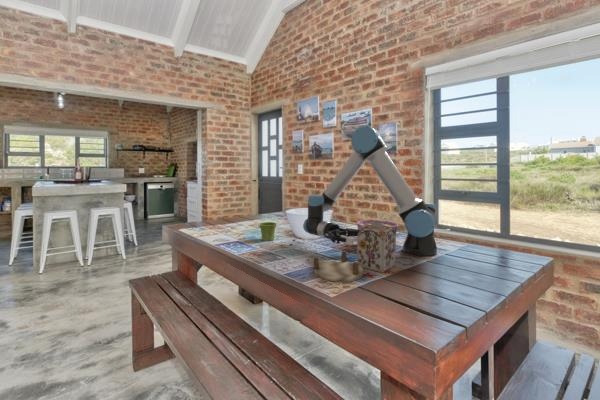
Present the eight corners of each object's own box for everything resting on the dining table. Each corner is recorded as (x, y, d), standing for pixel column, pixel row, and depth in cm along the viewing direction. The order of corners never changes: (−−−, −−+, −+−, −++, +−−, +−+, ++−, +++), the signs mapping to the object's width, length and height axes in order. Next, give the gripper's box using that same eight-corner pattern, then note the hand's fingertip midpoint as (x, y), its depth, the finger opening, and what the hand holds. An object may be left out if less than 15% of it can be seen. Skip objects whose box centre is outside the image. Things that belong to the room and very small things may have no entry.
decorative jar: (369, 260, 137) (370, 218, 135) (395, 265, 130) (397, 222, 128) (355, 266, 128) (356, 222, 126) (382, 273, 120) (384, 226, 118)
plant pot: (268, 242, 165) (268, 226, 164) (255, 240, 170) (255, 223, 169) (280, 239, 172) (280, 223, 171) (267, 236, 178) (267, 221, 177)
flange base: (354, 264, 130) (354, 250, 130) (369, 280, 113) (370, 264, 112) (309, 266, 128) (309, 251, 127) (318, 282, 110) (318, 265, 109)
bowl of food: (387, 254, 146) (388, 229, 145) (348, 247, 158) (349, 223, 157) (403, 245, 162) (404, 223, 160) (366, 239, 174) (367, 218, 172)
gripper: (347, 235, 157) (383, 243, 140) (308, 242, 141) (342, 253, 125) (348, 219, 156) (383, 226, 139) (308, 225, 141) (343, 234, 124)
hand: (364, 239), depth 132 cm, fingers open, 13 cm apart
